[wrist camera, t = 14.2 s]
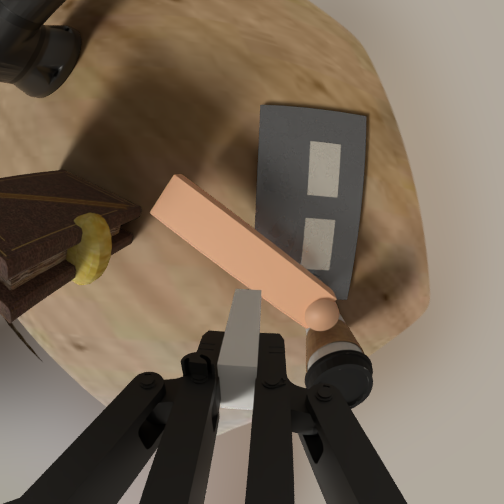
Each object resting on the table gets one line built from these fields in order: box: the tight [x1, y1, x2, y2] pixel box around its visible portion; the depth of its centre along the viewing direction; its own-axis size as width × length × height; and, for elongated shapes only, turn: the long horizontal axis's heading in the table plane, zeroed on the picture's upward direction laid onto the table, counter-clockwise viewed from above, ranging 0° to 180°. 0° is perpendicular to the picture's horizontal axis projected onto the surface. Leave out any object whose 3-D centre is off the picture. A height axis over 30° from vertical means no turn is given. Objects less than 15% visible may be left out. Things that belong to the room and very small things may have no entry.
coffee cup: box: [305, 313, 373, 409], centre depth 34 cm, size 8×8×15 cm
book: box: [0, 170, 142, 323], centre depth 26 cm, size 22×8×25 cm, turn 65°
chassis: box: [255, 105, 366, 300], centre depth 32 cm, size 26×14×7 cm, turn 177°
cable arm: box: [150, 174, 339, 331], centre depth 30 cm, size 24×5×3 cm, turn 52°
